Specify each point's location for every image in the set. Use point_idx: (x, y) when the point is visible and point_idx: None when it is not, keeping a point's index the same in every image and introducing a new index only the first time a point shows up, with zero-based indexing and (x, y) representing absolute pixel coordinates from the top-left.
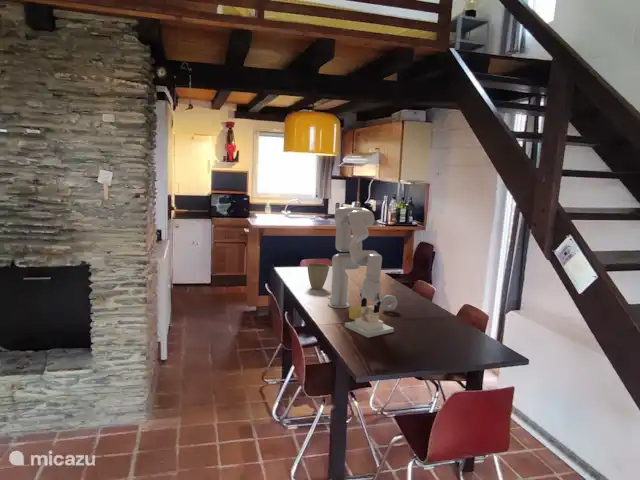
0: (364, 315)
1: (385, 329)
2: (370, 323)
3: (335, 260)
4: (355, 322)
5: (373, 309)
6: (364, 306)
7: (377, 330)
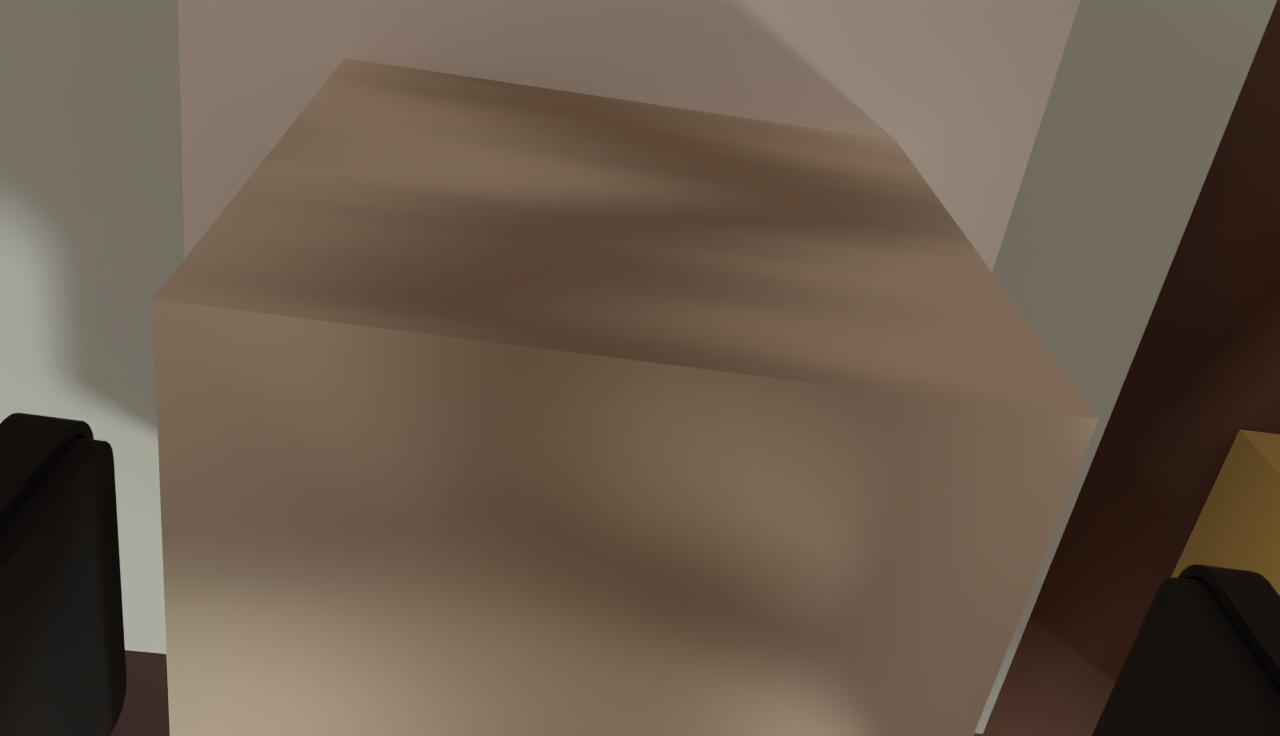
0: (702, 183)
1: (23, 378)
2: (235, 14)
3: None
4: (1097, 96)
5: (221, 616)
6: (1014, 622)
7: (57, 87)
